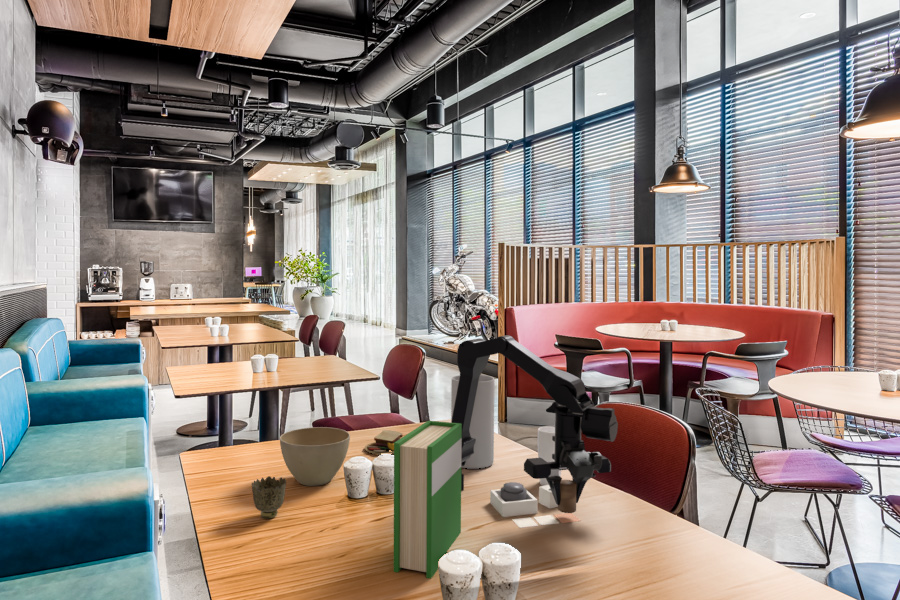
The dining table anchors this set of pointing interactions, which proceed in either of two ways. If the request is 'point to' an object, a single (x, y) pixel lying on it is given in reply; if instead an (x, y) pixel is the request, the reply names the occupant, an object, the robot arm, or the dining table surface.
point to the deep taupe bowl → (314, 453)
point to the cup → (268, 495)
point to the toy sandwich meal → (384, 442)
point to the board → (526, 511)
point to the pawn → (567, 496)
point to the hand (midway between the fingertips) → (566, 503)
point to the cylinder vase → (480, 422)
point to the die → (546, 497)
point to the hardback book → (427, 495)
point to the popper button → (513, 492)
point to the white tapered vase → (546, 446)
